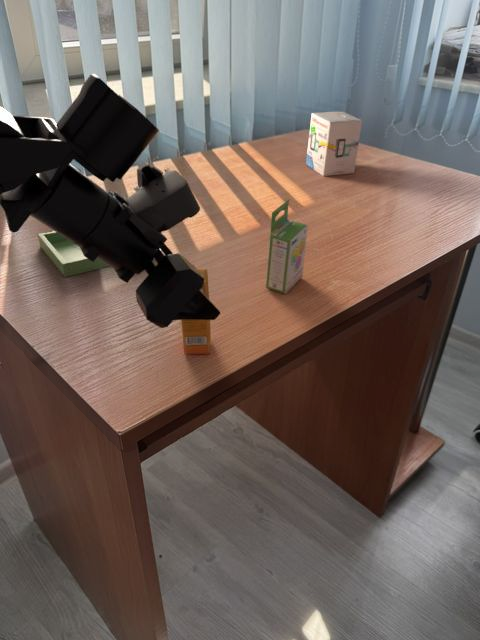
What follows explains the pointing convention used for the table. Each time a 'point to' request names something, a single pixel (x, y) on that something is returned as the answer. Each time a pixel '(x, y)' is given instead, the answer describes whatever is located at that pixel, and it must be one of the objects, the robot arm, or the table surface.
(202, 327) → the supplement box
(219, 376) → the table surface
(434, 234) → the table surface
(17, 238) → the table surface
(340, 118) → the ink box
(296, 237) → the ink box
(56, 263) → the green tray
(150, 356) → the table surface
